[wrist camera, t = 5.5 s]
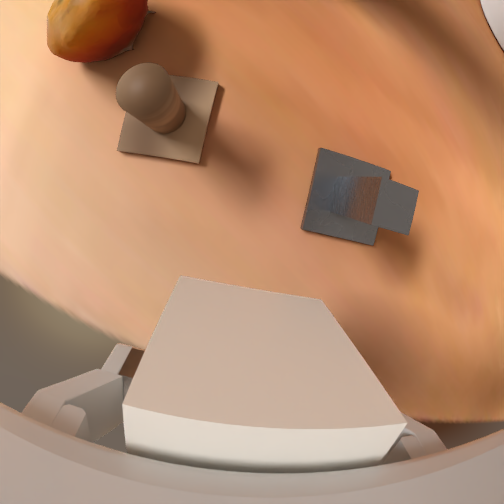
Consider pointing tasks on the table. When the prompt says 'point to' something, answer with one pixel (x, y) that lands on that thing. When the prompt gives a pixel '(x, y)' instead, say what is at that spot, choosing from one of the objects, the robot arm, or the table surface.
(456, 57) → the table surface
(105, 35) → the fruit
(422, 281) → the table surface
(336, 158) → the grey square post stand
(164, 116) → the knob on square plate
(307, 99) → the table surface
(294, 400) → the white rectangular block
